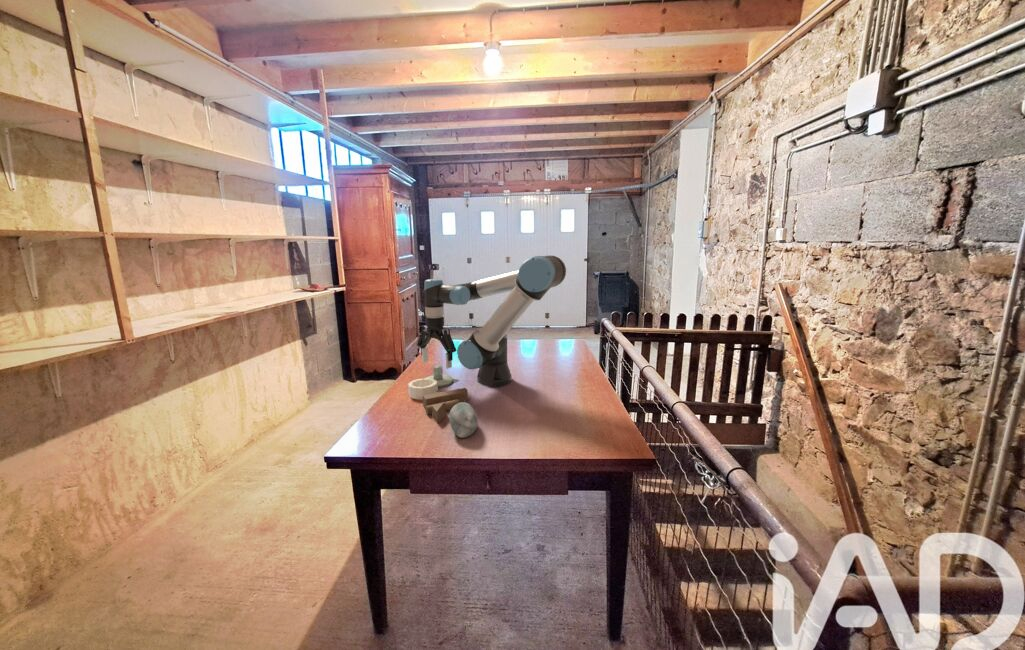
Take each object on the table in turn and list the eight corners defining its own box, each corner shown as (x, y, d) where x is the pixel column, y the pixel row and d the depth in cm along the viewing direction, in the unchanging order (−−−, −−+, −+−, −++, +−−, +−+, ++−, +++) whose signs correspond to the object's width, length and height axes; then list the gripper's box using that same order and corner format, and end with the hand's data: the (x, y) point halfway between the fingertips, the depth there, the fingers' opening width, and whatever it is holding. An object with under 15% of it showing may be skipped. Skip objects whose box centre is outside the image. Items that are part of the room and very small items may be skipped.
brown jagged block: (419, 393, 142) (465, 384, 151) (420, 407, 143) (465, 398, 152) (433, 409, 128) (483, 398, 136) (434, 425, 129) (483, 413, 137)
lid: (458, 380, 168) (457, 365, 167) (439, 389, 159) (438, 372, 157) (437, 375, 175) (436, 361, 173) (418, 383, 165) (417, 368, 163)
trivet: (459, 381, 169) (459, 380, 169) (439, 390, 158) (439, 389, 158) (437, 376, 176) (437, 375, 175) (416, 385, 165) (416, 384, 165)
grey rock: (444, 412, 130) (456, 390, 126) (470, 421, 133) (483, 400, 129) (441, 440, 118) (455, 417, 114) (469, 450, 120) (484, 427, 117)
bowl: (443, 393, 156) (442, 381, 155) (423, 402, 146) (422, 390, 145) (423, 388, 161) (422, 376, 160) (403, 396, 152) (402, 384, 151)
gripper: (463, 318, 157) (465, 367, 162) (419, 312, 170) (422, 358, 175) (451, 321, 151) (453, 372, 156) (406, 314, 164) (409, 362, 169)
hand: (436, 365), depth 165 cm, fingers open, 13 cm apart
